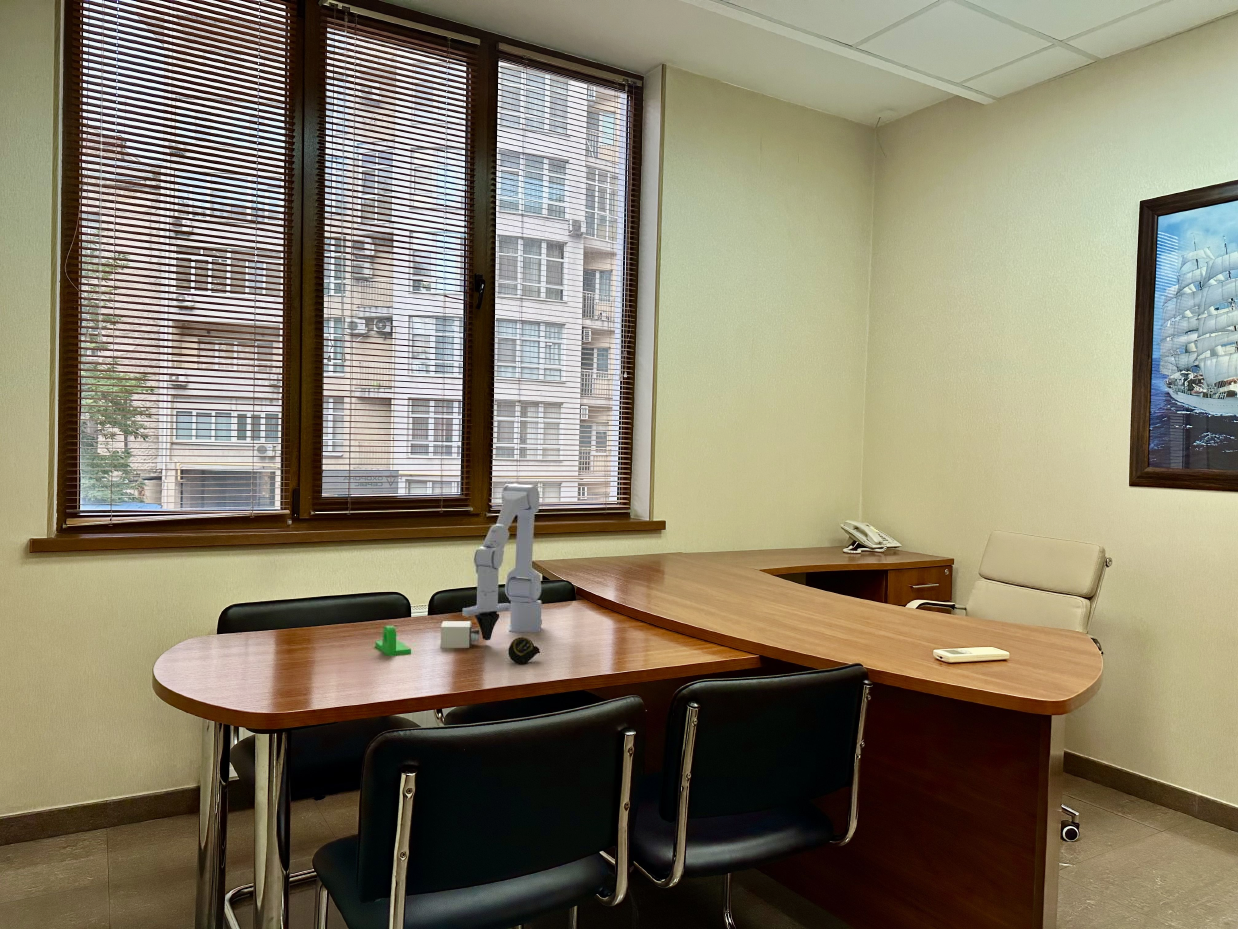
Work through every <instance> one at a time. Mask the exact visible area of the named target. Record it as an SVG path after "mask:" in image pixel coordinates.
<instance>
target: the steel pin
mask: <svg viewBox="0 0 1238 929" xmlns="http://www.w3.org/2000/svg"><path fill="white" fill-rule="evenodd" d="M480 633H481V629H480V628H475V629H473V628H472V629H471V644H472V643H479V644H480Z"/></svg>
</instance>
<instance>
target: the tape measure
mask: <svg viewBox="0 0 1238 929" xmlns="http://www.w3.org/2000/svg"><path fill="white" fill-rule="evenodd" d="M507 649H508V650H507V651H508V652H507V653H508V654H507V655H508V657H509V659H510V660H511V661H512V662H513V663H515V664H517V665H519V666H525V665H527V664H528V663H529V662H530V661H531V660H532V659H534V658H535V656H537V655H538V654H539V655H540V654H541V651H540V648H539V647H538V646H537V645H535V644H534V643H533V641H532V640H531V639H529V638H527V637H523V636H521V637H516V638H514V639H513V640H512V641H511V643H510V645H509V646H508V648H507Z"/></svg>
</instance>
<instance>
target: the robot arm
mask: <svg viewBox="0 0 1238 929" xmlns="http://www.w3.org/2000/svg"><path fill="white" fill-rule="evenodd" d="M501 504H502V506H501V510H500V512H499V515H498V517H497V521H496V523H495V524H493V525H492V526H491V527H490V528H489V530H488V532H487V534H486V537H485V539H484V541H483V543H482V546H480V547H479V548H477V549H476V550H475V552H474V556H473V564H474V568H475V573H476V574H477V580H476V581H477V583H476V584H477V585H476V591H477V592H476V605H473V606H470V607H466V608H465V607H463V608H462V613H461V614H462V617H466V618H467V617H471V616H474V618H475V619H476V621H477V623H478V625H479V626H478V627H479V630H480V633H481V637H482V640H485V641H491V638H492V636H493V635H492V634H493V633H494V632H493V631H494V628H495V626H496V624H497V622H498V621H499V619H500V613H501V612H502V613H503V612H510V616H509V617H510V622H509V623H510V624H508V633H509V632H510V633H518V632H519V633H520V632H521V633H522V632H523V633H525V632H526V633H530V632H531V633H536V632H542V625H543V618H542V600H538V599H539V598H540V597H541V594H542V582H541V574H540V573H539V572H538V571H537V570H535V569H534V568H533V567H532V566H533V552H534V551H533V550H534V532H535V529H534V528H535V514H536V513H538V512H539V508H540V491H539V489H538V487H537V486H536V485H535V484H532V485H529V484H525V485H524V484H510V483H506V484H505V485H504V486H503V488H502V490H501ZM516 516H517V525H516V526H517V527H516V528H517V529H516V541H515V542H516V544H515V545H516V546H515V565H514V568H513V569H511V570H510V571H509V572H508V573H507V576H506V581H505V586H504V593H505V595H506V597H507V598H508V601H510V603H508V602H505V603H499V573H500V572H499V568H501V567H502V565H503V562H504V553H505V551H504V549H505V546H506V544H507V543H508V539H509V537H510V531H509V530H508V529H509V527H510V526H511V524H512V522H513V521H514V519H515V517H516Z"/></svg>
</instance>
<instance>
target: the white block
mask: <svg viewBox="0 0 1238 929" xmlns="http://www.w3.org/2000/svg"><path fill="white" fill-rule="evenodd" d="M440 626H441V627H440V649H467V648H468V649H469V648H471V647H472V643H471V629H473V622H471V621H470V620H466V621H465V620H464V621H462V620H457V621H456V620H455V621H454V620H450V621H447V620H446V621H445V620H443V621H442V623H441V625H440Z"/></svg>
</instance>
